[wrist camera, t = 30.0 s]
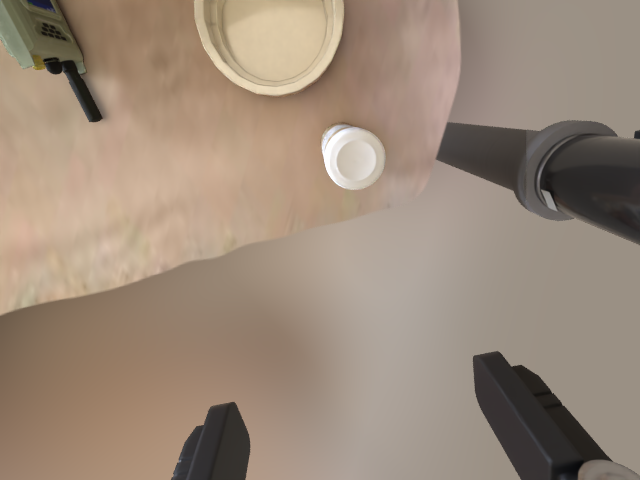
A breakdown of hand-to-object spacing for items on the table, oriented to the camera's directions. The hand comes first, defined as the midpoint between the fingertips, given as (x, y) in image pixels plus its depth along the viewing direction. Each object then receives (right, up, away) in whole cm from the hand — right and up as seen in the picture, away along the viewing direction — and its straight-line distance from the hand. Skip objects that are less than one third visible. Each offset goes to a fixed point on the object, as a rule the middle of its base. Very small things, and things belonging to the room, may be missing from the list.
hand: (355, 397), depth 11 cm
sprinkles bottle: (+1, +16, +26) cm, 31 cm away
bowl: (-6, +26, +22) cm, 35 cm away
